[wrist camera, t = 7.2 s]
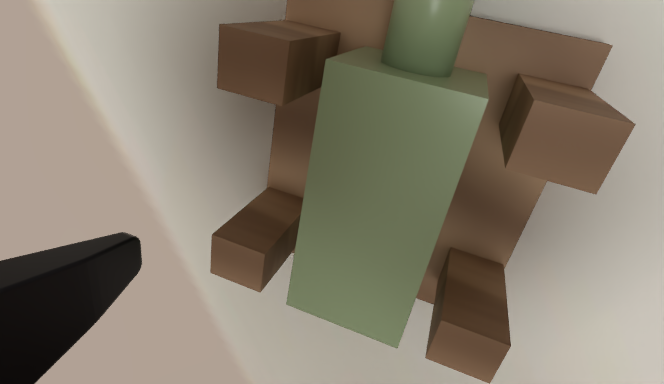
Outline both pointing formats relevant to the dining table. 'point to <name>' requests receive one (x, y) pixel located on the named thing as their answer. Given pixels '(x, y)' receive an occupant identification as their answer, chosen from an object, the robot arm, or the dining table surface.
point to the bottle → (385, 169)
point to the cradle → (478, 173)
